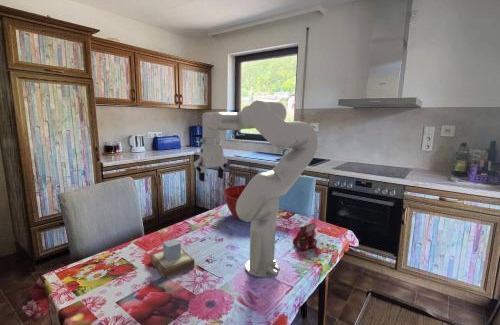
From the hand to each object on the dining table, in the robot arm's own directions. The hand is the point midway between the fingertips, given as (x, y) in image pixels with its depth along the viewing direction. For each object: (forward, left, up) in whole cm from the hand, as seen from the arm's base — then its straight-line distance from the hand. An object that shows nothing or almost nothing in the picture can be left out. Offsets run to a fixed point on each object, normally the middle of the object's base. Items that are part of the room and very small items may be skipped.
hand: (211, 179), depth 117 cm
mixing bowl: (+15, -34, -31) cm, 48 cm away
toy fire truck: (-29, -32, -31) cm, 53 cm away
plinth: (-6, +22, -30) cm, 38 cm away
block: (-6, +22, -27) cm, 35 cm away
